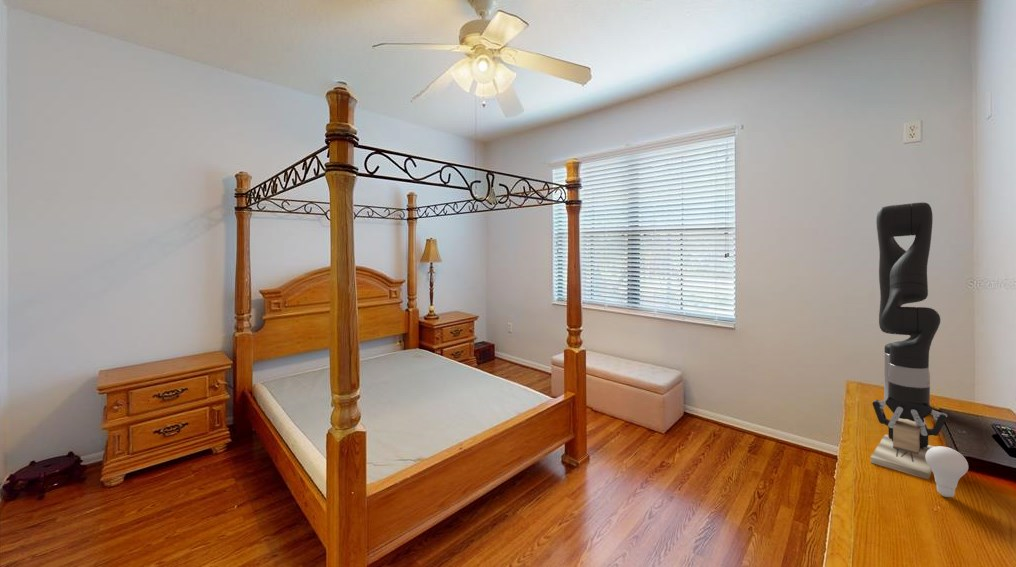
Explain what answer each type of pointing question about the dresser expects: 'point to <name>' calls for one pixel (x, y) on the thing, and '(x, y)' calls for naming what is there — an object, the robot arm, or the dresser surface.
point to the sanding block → (906, 436)
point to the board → (901, 459)
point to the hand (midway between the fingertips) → (907, 443)
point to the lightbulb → (946, 468)
